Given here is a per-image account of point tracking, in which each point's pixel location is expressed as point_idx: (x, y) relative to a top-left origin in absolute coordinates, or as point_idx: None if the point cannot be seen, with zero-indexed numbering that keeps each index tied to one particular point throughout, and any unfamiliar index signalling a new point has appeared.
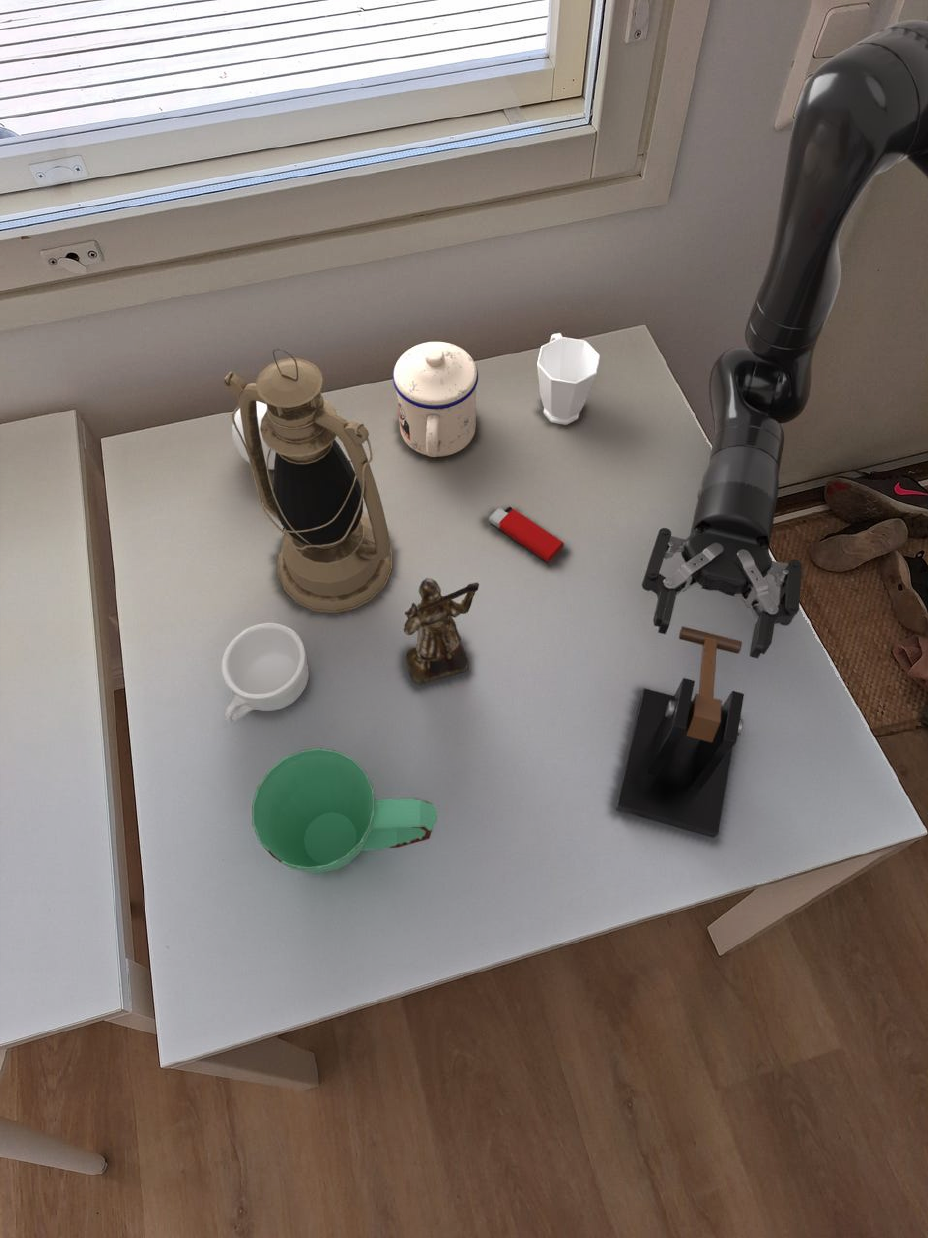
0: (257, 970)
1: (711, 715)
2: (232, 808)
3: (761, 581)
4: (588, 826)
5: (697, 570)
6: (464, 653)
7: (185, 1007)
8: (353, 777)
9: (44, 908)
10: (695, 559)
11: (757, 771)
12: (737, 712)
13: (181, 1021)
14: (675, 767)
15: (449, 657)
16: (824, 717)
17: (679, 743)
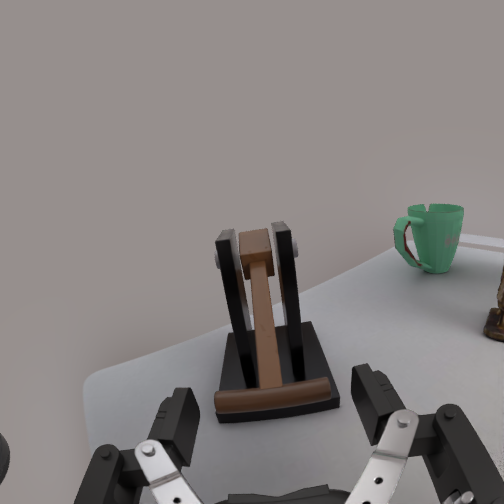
0: (410, 249)
1: (249, 233)
2: (472, 259)
3: (165, 496)
4: (324, 319)
5: (362, 474)
6: (496, 332)
7: None
8: (444, 232)
9: (470, 237)
10: (384, 494)
11: (193, 387)
12: (222, 235)
13: (413, 241)
14: None
15: (498, 323)
16: (115, 441)
17: None
